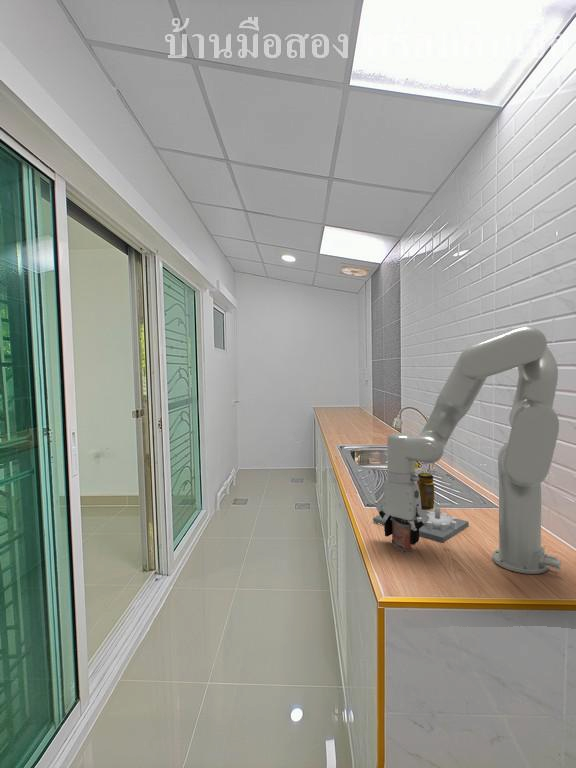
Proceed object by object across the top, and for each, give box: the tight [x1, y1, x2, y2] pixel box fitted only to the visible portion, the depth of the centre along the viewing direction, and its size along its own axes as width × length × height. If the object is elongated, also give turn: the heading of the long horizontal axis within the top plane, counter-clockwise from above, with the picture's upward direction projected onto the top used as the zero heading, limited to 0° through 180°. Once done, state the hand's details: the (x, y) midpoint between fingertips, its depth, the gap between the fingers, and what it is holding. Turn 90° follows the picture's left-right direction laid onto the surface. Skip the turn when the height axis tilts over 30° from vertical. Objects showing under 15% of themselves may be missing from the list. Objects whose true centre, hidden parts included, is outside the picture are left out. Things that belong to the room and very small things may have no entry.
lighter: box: [391, 517, 413, 554], centre depth 119 cm, size 8×3×10 cm, turn 16°
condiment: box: [416, 472, 437, 512], centre depth 154 cm, size 7×8×12 cm
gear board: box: [372, 507, 470, 543], centre depth 137 cm, size 24×18×6 cm
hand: (401, 538), depth 119 cm, fingers closed on lighter, 7 cm apart
